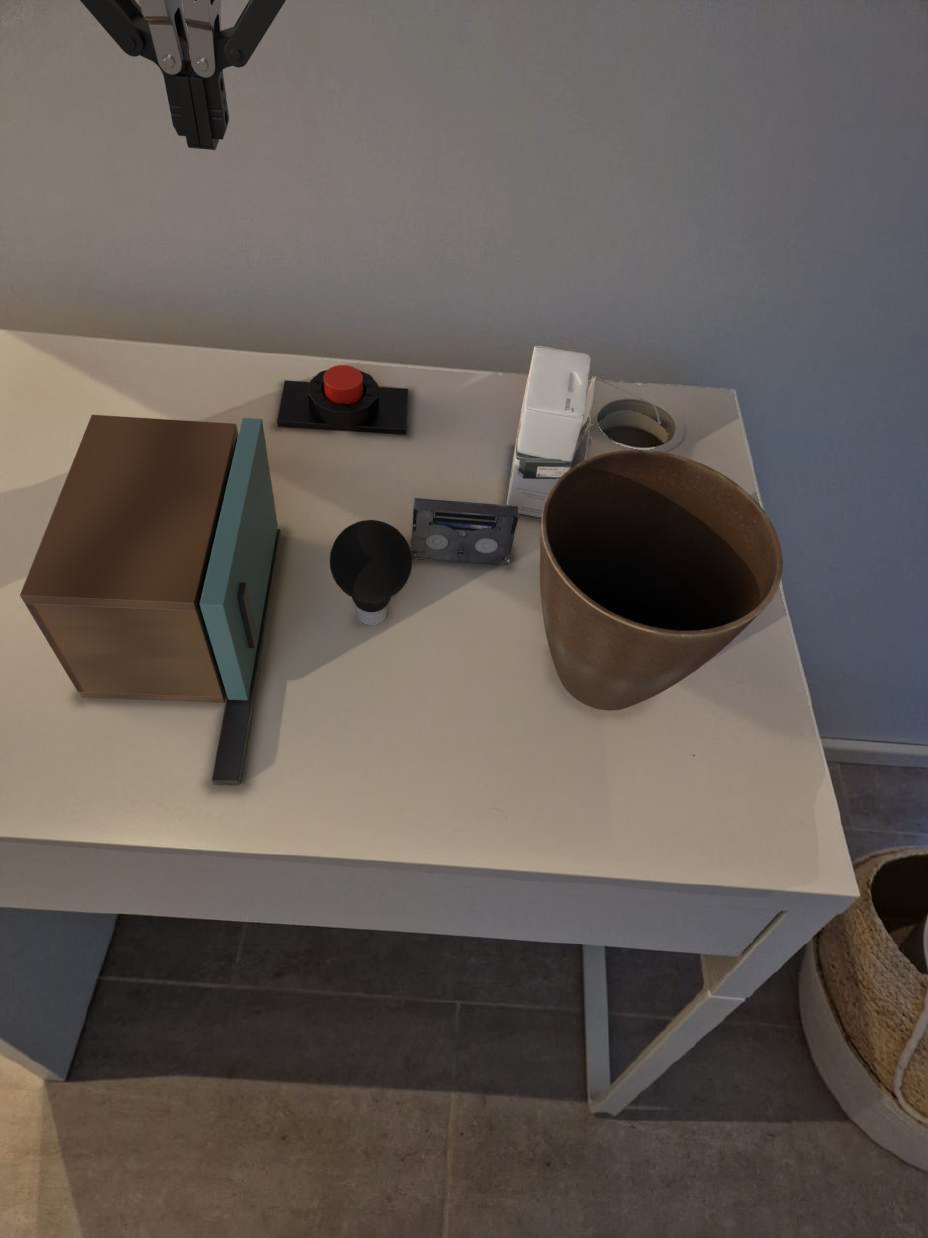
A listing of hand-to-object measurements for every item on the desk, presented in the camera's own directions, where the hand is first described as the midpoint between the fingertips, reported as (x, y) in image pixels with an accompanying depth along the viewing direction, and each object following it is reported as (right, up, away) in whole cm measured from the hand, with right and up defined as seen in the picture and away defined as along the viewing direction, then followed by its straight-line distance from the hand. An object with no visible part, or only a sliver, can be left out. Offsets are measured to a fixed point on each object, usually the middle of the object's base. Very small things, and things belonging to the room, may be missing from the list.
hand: (205, 142), depth 45 cm
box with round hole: (+29, -12, +31) cm, 44 cm away
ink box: (+21, -15, +28) cm, 38 cm away
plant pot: (+25, -31, +17) cm, 44 cm away
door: (-1, -26, +16) cm, 30 cm away
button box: (+3, -7, +31) cm, 32 cm away
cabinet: (-6, -29, +14) cm, 33 cm away
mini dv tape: (+14, -22, +22) cm, 34 cm away
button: (+3, -6, +30) cm, 30 cm away
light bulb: (+7, -27, +17) cm, 33 cm away
